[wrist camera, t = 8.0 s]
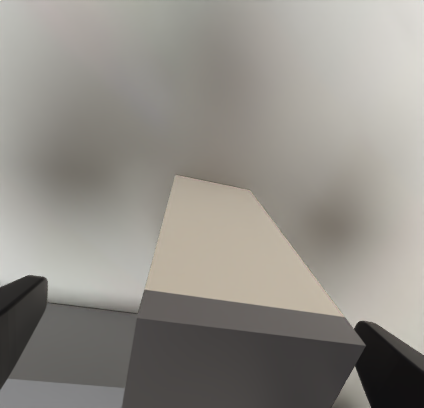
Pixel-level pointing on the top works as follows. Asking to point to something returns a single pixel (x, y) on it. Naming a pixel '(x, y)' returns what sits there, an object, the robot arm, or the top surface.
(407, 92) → the top surface
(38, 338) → the socket
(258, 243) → the grey tall block
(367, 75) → the top surface
